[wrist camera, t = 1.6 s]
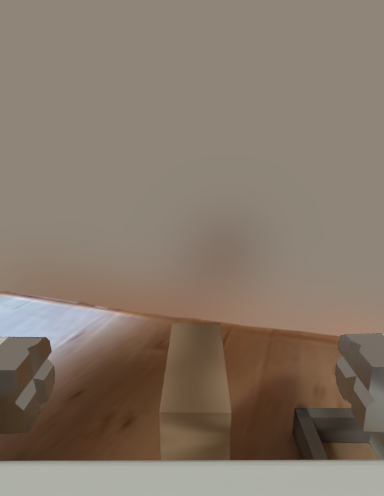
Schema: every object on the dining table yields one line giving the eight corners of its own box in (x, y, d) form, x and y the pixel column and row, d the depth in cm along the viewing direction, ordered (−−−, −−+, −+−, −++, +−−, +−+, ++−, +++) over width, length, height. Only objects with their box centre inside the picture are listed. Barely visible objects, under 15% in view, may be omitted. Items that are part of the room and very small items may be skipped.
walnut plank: (166, 584, 23) (158, 412, 19) (175, 454, 32) (172, 322, 28) (225, 585, 23) (231, 412, 19) (217, 454, 32) (220, 323, 28)
